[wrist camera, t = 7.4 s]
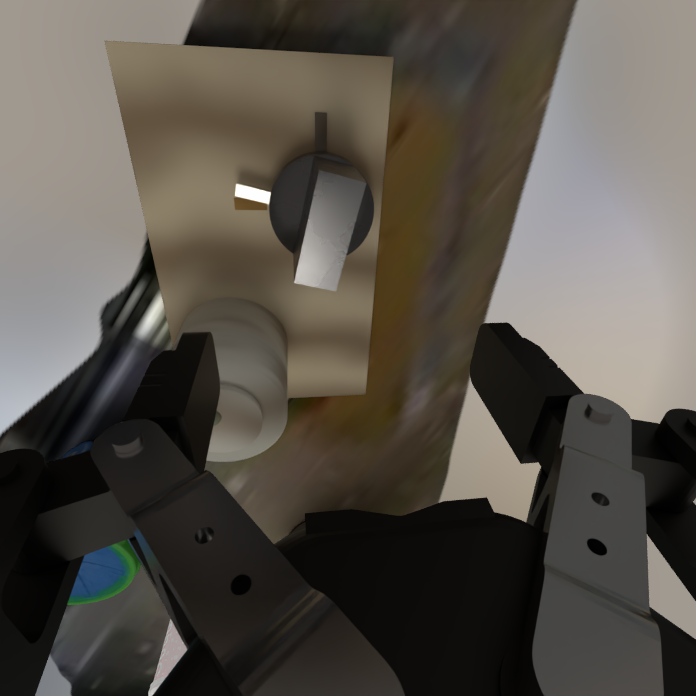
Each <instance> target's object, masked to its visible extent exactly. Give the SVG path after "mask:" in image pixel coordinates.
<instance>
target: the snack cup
mask: <svg viewBox="0 0 696 696" xmlns="http://www.w3.org/2000/svg"><path fill="white" fill-rule="evenodd" d="M92 444H93V442H92V441H88V442H83V443H81V444H80V445H78V446H77V447H75V448H72V449H71V450H70V451H68V452H67V453H66V454H65V455H64V456H63V457H62V458H66V457H69V456H73V455H76V454H80V453H83V452H86V451H88V450H91V446H92ZM62 458H61V459H62ZM140 565H141V563H140V561H139V560H138V558H137V556H136V554H135V553H134V551H133V549H132V547H131V546H130V544H129V542H128V540H124V541H121V542H119V543H116V544H113V545H111V546H108V547H105V548H102V549H100V550H97V551H94V552H92V553H89V554H86V555H85V556H84V558H83V561H82V564H81V567H80V570H79V573H78V575H77V578H76V581H75V584H74V587H73V589H72V592H71V595H70V598H69V601H68V604H67V605H77V604H86V603H92V602H97V601H100V600H104V599H107V598H110V597H112V596H114V595H116V594H118V593H120V592H121V591H122V590H124V589H125V588H126V587H127V586H128V585H129V584H130V583H131V582H132V580H133V578H134V576H135V574H136V573H138V571H139V569H140Z"/></svg>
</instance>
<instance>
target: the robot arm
mask: <svg viewBox="0 0 696 696" xmlns="http://www.w3.org/2000/svg"><path fill="white" fill-rule="evenodd" d="M470 377H471V381H472V384H473V386H474V388H475V389H476V391H477V392H478V394H479V396H480V397H481V399H482V401H483V402H484V404H485V406H486V407H487V409H488V410H489V412H490V414H491V416H492V417H493V419H494V420H495V422H496V424H497V425H498V427H499V429H500V430H501V432H502V434H503V435H504V437H505V439H506V440H507V442H508V443H509V445H510V447H511V448H512V450H513V452H514V453H515V455H516V457H517V458H518V460H519V461H520V463H521V464H523V463H535V462H539V464H540V465H541V469H540V471H539V474H538V476H537V480H536V484H535V489H534V493H533V497H532V501H531V505H530V509H529V513H528V518H527V522H524V521H522V520H519V519H516V518H514V517H511V516H508V515H504V514H499V513H495V512H494V511H493V509H492V507H491V505H490V503H489V501H488V499H487V498H477V499H465V500H454V501H444V502H441V503H438V504H435V505H432V506H430V507H427V508H424V509H421V510H418V511H415V512H413V513H410V514H407V515H403V516H395V515H388V514H381V513H373V512H366V511H359V510H352V509H350V510H339V511H328V512H316V513H305V522H304V523H302V524H301V525H299V526H298V527H296V528H295V529H294V530H293V531H292V533H291V534H290V535H288V536H286V537H285V538H283V539H282V540H280V541H278V542H277V543H275V544H273V543H272V542H271V541H270V539H269V538H268V537H267V536H266V535H265V534H264V532H263V531H262V530H261V529H260V528H259V527H258V526H257V524H256V523H255V522H254V521H253V520H252V519H251V517H250V516H249V515H248V514H247V513H246V512H245V511H244V509H243V508H242V507H241V506H240V505H239V504H238V502H237V501H236V500H235V499H234V498H233V497H232V496H231V494H230V493H229V492H228V491H227V490H226V489H225V487H224V486H223V485H222V484H221V483H220V482H219V481H218V479H217V478H216V477H215V476H214V475H213V474H212V473H211V472H209V471H207V470H205V471H204V469H205V464H206V459H207V454H208V449H209V445H210V440H211V435H212V430H213V425H214V421H215V416H216V411H217V406H218V401H219V396H220V377H219V371H218V365H217V359H216V353H215V346H214V340H213V336H212V333H211V332H184V333H182V335H181V338H180V340H179V343H178V345H177V348H176V350H167V351H163V352H162V353H161V354H159V355H158V356H157V357H156V358H155V359H153V360H152V361H151V363H150V365H149V367H148V369H147V371H146V373H145V376H144V377H143V380H142V382H141V384H140V387H139V388H138V390H137V392H136V394H135V396H134V399H133V401H132V403H131V405H130V407H129V409H128V411H127V413H126V415H125V418H124V420H123V422H121V423H118V424H116V425H114V426H112V427H110V428H108V429H106V430H105V431H104V432H102V433H101V434H100V435H99V436H98V437H97V438H96V439H95V441H94V442H93V444H92V446H91V450H88V451H86V452H83V453H80V454H76V455H73V456H69V457H66V458H62V459H59V460H55V461H52V462H48V463H46V462H45V460H44V458H43V456H42V455H41V454H40V453H39V452H37V451H35V450H32V449H15V450H10V451H6V452H3V453H0V696H35V694H36V691H37V688H38V685H39V682H40V679H41V676H42V674H43V671H44V668H45V666H46V663H47V660H48V657H49V654H50V651H51V649H52V646H53V643H54V640H55V637H56V635H57V632H58V629H59V626H60V623H61V620H62V618H63V615H64V612H65V609H66V606H67V604H68V601H69V598H70V595H71V592H72V589H73V587H74V584H75V581H76V578H77V575H78V573H79V570H80V567H81V564H82V561H83V558H84V556H85V555H86V554H89V553H92V552H94V551H97V550H100V549H102V548H105V547H108V546H111V545H113V544H116V543H119V542H121V541H124V540H128V542H129V544H130V546H131V547H132V549H133V551H134V553H135V554H136V556H137V558H138V560H139V561H140V563H141V565H142V567H143V568H144V570H145V572H146V574H147V575H148V577H149V579H150V581H151V582H152V584H153V586H154V588H155V589H156V591H157V593H158V595H159V597H160V598H161V600H162V602H163V604H164V606H165V608H166V610H167V612H168V614H169V616H170V618H171V620H172V622H173V624H174V626H175V628H176V630H177V632H178V634H179V635H180V637H181V639H182V641H183V643H184V644H185V646H186V648H187V651H186V652H185V653H184V655H183V656H182V657H181V659H180V660H179V661H178V662H177V664H176V665H175V666H174V668H173V669H172V670H171V672H170V673H169V674H168V676H167V677H166V678H165V679H164V681H163V682H162V683H161V685H160V686H159V687H158V689H157V690H156V691H155V692H154V694H153V695H152V696H696V639H694V638H693V637H691V636H690V635H689V634H687V633H686V632H684V631H683V630H682V629H680V628H679V627H677V626H676V625H674V624H673V623H672V622H670V621H669V620H667V619H666V618H664V617H663V616H662V615H660V614H659V613H657V612H656V611H655V610H653V609H652V608H650V607H649V589H648V588H649V586H648V559H647V534H648V536H649V537H650V539H651V540H652V542H653V543H654V544H655V546H656V547H657V549H658V550H659V551H660V552H661V554H662V555H663V557H664V558H665V560H666V561H667V562H668V563H669V565H670V566H671V568H672V569H673V570H674V572H675V573H676V575H677V576H678V577H679V579H680V580H681V581H682V583H683V584H684V586H685V587H686V588H687V590H688V591H689V593H690V594H691V595H692V597H693V598H694V599H695V601H696V505H695V504H694V503H693V501H694V500H695V498H696V411H692V410H686V409H672V410H669V411H668V412H667V413H666V414H665V416H664V418H663V419H662V421H661V423H660V424H658V423H652V422H646V421H640V420H634V419H631V418H630V416H629V414H628V413H627V412H626V411H625V410H624V409H623V408H622V407H620V406H619V405H618V404H616V403H614V402H613V401H610V400H608V399H606V398H603V397H600V396H596V395H591V394H584V393H583V392H582V391H581V390H580V389H579V388H578V387H577V386H576V385H575V383H574V382H573V381H572V380H571V379H570V378H569V377H568V376H567V375H566V374H565V373H564V372H563V371H562V370H561V369H560V368H558V367H557V364H556V363H555V362H554V361H553V360H552V359H549V356H548V355H547V354H546V353H545V352H544V351H543V350H542V348H540V346H538V345H536V344H534V343H533V342H531V341H529V340H528V339H526V338H522V337H521V336H520V335H519V333H518V332H517V331H516V330H515V329H514V328H513V327H512V326H511V325H510V324H509V323H484V324H482V325H481V326H480V328H479V331H478V335H477V339H476V344H475V348H474V352H473V356H472V360H471V365H470Z"/></svg>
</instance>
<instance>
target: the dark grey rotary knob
mask: <svg viewBox="0 0 696 696" xmlns="http://www.w3.org/2000/svg"><path fill="white" fill-rule="evenodd" d="M235 196H238V197H242V198H246V199H250V200H254V201H258V202H262V203H266V204H269V215H270V221H271V225H272V228H273V230H274V232H275V234H276V236H277V238H278V239H279V241H280V242H281V243H282V244H283V246H284V247H285V248H286V249H288V250H289V251H290V252H291V253H293V266H294V283H296V284H301V285H306V286H311V287H316V288H321V289H326V290H331V291H336V290H337V286H338V282H339V279H340V275H341V272H342V268H343V265H344V261H345V258H346V256H347V255H349V254H351V253H352V252H353V251H355V250H356V249H357V248H358V247H359V246H360V245H361V244H362V243H363V241H364V240H365V238H366V237H367V235H368V233H369V231H370V228H371V226H372V222H373V218H374V201H373V196H372V192H371V189H370V187H369V185H368V183H367V181H366V179H365V178H364V176H363V175H362V174H361V172H360V171H359V170H358V169H357V167H355V166H354V165H353V164H352V163H351V162H350V161H348V160H347V159H346V158H344V157H342V156H340V155H337V154H334V153H331V152H325V151H315V152H309V153H305V154H302V155H300V156H298V157H296V158H294V159H293V160H291V161H290V162H289V163H287V164H286V165H285V166H284V167H283V168H282V170H281V171H280V172H279V174H278V175H277V177H276V179H275V181H274V184H273V186H272V190H269V189H265V188H261V187H257V186H253V185H249V184H246V183H242V182H238V181H237V184H236V191H235ZM269 201H270V202H269Z"/></svg>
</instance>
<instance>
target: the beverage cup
mask: <svg viewBox="0 0 696 696" xmlns="http://www.w3.org/2000/svg"><path fill="white" fill-rule="evenodd" d="M186 651H187V648H186V646H185V644H184V643H183V641H182V639H181V637H180V635H179V634H178V632H177V630H176V628H175V626H174V624H173V622H172V620H170V623H169V627H168V631H167V634H166V638H165V642H164V645H163V649H162V653H161V656H160V660H159V664H158V667H157V671H156V674H155V678H154V681H153V683H152V684H151V685H150V690H149V692H148V695H149V696H152V695H153V694H154V692H155V691H156V690H157V689H158V687H159V686H160V685H161V683H162V682H163V681H164V679H165V678H166V677H167V676H168V674H169V673H170V672H171V670H172V669H173V668H174V666H175V665H176V664H177V662H178V661H179V660H180V659H181V657H182V656H183V655H184V653H185V652H186Z"/></svg>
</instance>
